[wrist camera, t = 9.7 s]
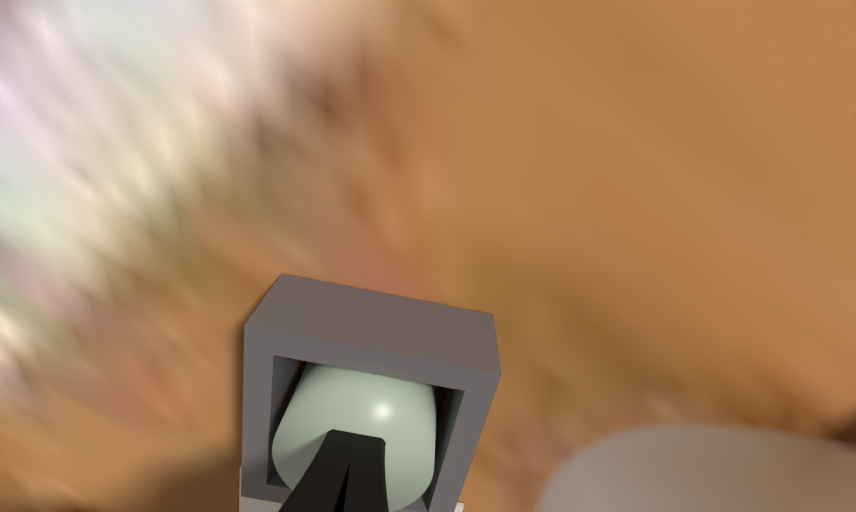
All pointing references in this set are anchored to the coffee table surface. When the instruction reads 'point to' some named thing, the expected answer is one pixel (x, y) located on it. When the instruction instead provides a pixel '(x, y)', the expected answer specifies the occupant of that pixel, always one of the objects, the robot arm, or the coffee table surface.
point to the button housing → (367, 352)
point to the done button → (361, 425)
